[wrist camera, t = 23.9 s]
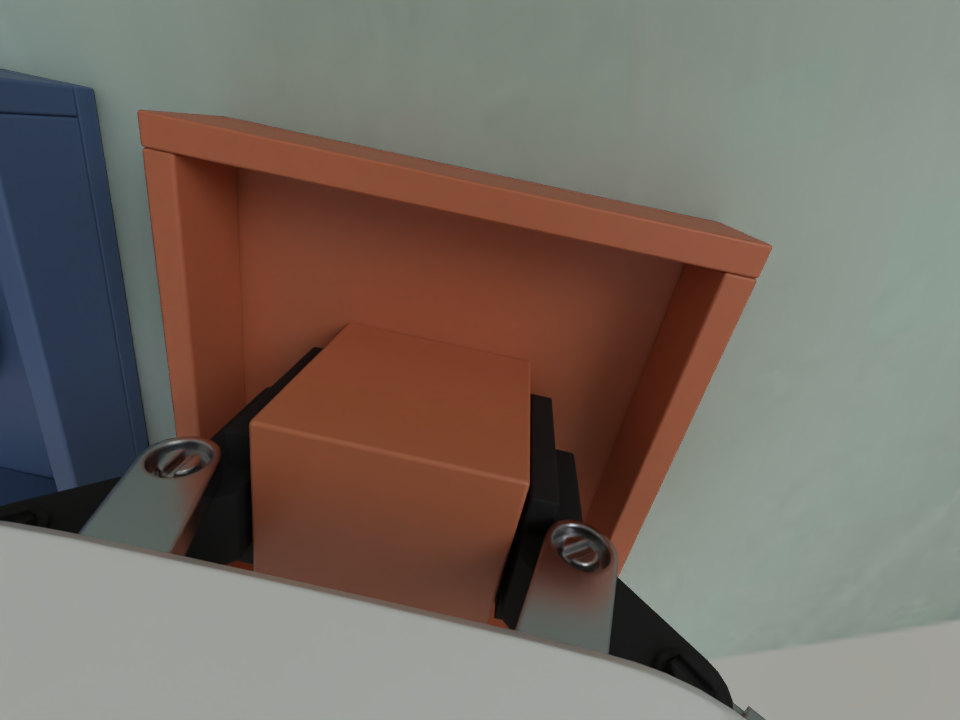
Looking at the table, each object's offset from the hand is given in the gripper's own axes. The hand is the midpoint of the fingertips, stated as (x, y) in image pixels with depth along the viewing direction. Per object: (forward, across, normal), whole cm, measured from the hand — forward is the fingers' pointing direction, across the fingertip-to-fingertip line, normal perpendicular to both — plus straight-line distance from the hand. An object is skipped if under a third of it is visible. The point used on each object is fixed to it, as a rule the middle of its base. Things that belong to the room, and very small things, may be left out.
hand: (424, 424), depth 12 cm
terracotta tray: (+1, 0, 0) cm, 1 cm away
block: (0, 0, 0) cm, 0 cm away
